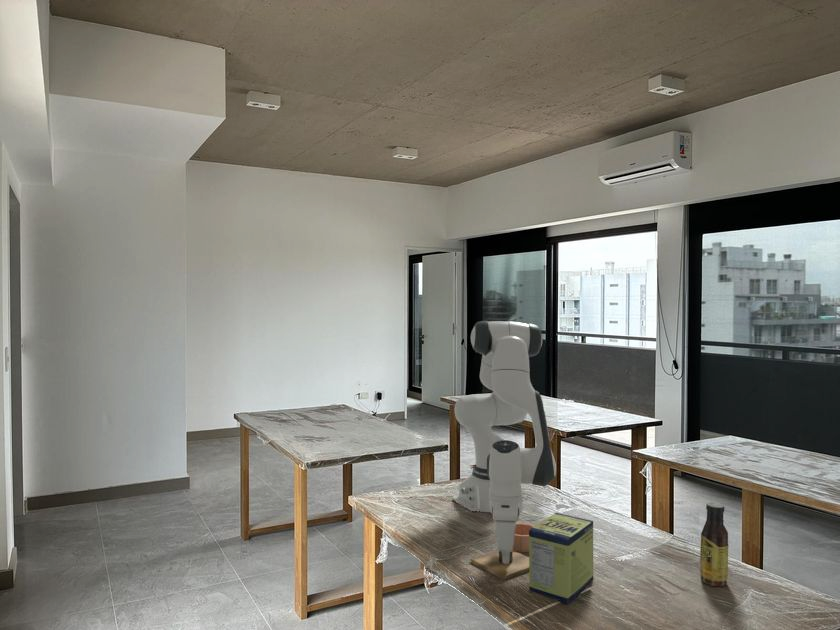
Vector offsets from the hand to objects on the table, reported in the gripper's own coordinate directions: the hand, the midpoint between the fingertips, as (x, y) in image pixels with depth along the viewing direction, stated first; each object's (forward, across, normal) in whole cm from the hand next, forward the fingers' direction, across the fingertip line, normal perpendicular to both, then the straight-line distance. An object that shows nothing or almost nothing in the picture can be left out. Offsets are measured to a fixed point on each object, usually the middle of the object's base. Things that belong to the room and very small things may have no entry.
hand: (506, 555), depth 163 cm
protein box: (+4, +10, +14) cm, 17 cm away
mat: (+3, 0, 0) cm, 3 cm away
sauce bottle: (+3, +2, +52) cm, 52 cm away
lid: (+3, 0, 0) cm, 3 cm away
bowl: (+3, -14, +4) cm, 15 cm away
